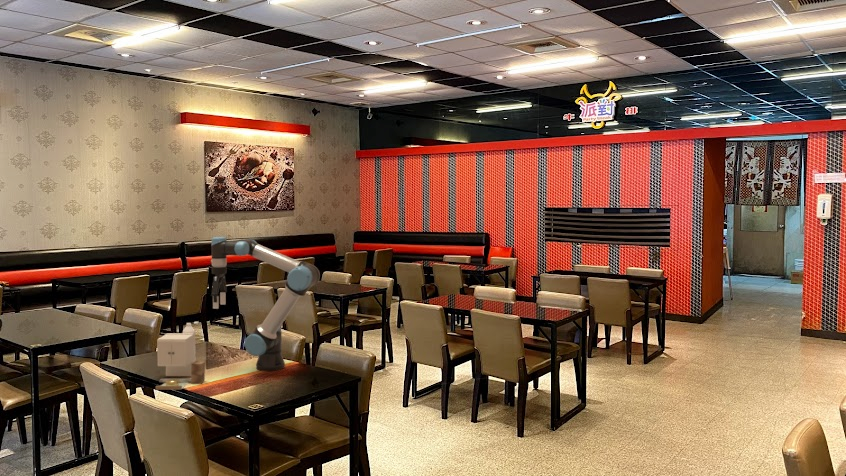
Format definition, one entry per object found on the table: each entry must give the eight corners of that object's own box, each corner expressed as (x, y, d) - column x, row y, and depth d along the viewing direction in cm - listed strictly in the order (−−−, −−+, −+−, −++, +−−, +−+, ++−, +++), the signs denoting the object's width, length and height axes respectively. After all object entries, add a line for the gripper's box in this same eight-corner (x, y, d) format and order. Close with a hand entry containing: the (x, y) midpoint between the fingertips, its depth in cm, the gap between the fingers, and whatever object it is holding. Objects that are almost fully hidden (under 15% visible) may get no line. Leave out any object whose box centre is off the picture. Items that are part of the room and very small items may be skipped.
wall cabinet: (194, 375, 338) (193, 333, 337) (185, 382, 324) (184, 338, 323) (166, 375, 338) (166, 333, 336) (156, 382, 324) (156, 338, 323)
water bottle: (186, 371, 346) (185, 324, 345) (180, 369, 351) (180, 322, 350) (201, 368, 353) (201, 322, 351) (196, 366, 357) (195, 320, 356)
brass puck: (179, 383, 322) (179, 378, 322) (178, 386, 316) (178, 381, 316) (166, 384, 320) (166, 379, 320) (165, 387, 314) (165, 382, 314)
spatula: (204, 381, 327) (204, 361, 327) (201, 384, 322) (201, 363, 322) (162, 380, 327) (162, 360, 326) (158, 382, 322) (158, 362, 321)
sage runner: (194, 378, 332) (194, 375, 332) (181, 389, 312) (181, 386, 312) (170, 378, 332) (170, 375, 332) (155, 389, 312) (155, 386, 312)
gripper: (218, 264, 356) (218, 302, 357) (204, 268, 331) (205, 310, 332) (232, 264, 356) (232, 302, 357) (219, 268, 331) (220, 310, 332)
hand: (219, 306), depth 345 cm, fingers open, 13 cm apart
